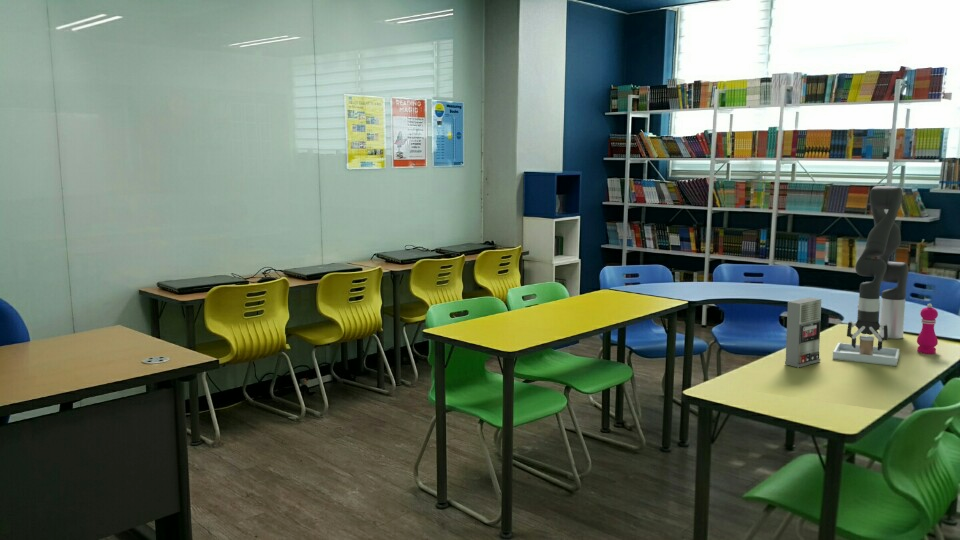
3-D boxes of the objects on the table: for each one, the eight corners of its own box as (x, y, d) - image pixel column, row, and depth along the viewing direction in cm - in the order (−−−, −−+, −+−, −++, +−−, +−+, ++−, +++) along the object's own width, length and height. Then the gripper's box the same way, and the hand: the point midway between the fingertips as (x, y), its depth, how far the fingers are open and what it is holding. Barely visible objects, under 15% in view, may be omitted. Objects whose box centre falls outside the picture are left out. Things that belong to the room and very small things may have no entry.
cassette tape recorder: (799, 368, 275) (801, 304, 271) (784, 364, 280) (787, 301, 276) (820, 362, 282) (823, 299, 279) (806, 358, 287) (809, 297, 284)
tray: (838, 349, 299) (838, 342, 299) (899, 356, 288) (899, 348, 287) (832, 358, 286) (833, 351, 286) (896, 366, 274) (896, 358, 274)
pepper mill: (940, 354, 288) (943, 305, 285) (920, 354, 290) (923, 305, 287) (932, 349, 295) (936, 302, 292) (913, 349, 297) (916, 301, 294)
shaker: (859, 354, 290) (860, 334, 289) (873, 355, 288) (874, 336, 286) (858, 357, 286) (859, 337, 285) (872, 358, 283) (873, 338, 282)
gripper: (890, 308, 283) (887, 348, 286) (849, 305, 291) (847, 344, 293) (888, 312, 277) (886, 353, 279) (847, 309, 285) (845, 348, 287)
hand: (866, 348), depth 286 cm, fingers open, 8 cm apart
